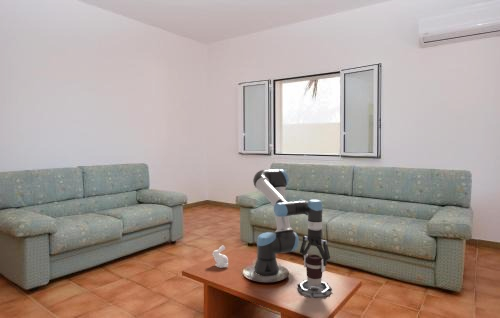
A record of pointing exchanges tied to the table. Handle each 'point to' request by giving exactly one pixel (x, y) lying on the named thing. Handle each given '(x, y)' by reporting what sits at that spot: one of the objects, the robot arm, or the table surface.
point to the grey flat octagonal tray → (314, 289)
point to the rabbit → (220, 258)
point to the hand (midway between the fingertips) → (314, 268)
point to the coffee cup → (314, 270)
